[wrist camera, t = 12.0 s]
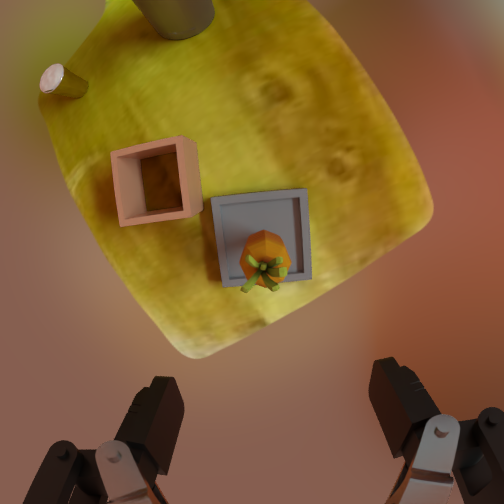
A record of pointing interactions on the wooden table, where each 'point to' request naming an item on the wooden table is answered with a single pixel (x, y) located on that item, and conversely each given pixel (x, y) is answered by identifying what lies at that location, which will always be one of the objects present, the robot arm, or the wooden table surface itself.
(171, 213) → the box
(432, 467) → the robot arm
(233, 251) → the tray
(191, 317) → the wooden table surface
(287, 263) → the carrot
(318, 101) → the wooden table surface
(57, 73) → the milkshake
